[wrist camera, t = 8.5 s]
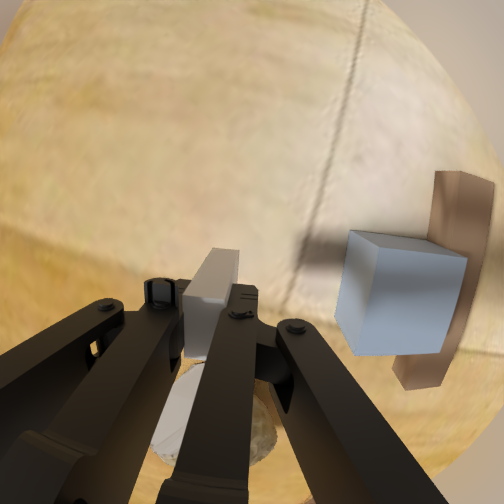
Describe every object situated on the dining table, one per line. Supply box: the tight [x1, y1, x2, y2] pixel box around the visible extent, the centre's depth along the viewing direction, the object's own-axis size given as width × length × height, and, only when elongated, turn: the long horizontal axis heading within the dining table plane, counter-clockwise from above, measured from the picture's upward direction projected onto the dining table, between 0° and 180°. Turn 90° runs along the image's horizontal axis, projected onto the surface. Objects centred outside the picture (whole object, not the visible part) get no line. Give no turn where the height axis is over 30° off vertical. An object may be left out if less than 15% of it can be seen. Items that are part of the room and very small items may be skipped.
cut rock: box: [150, 363, 278, 467], centre depth 20 cm, size 10×10×10 cm
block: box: [334, 230, 468, 356], centre depth 19 cm, size 7×7×6 cm
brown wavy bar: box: [392, 171, 494, 391], centre depth 20 cm, size 18×4×4 cm, turn 175°
